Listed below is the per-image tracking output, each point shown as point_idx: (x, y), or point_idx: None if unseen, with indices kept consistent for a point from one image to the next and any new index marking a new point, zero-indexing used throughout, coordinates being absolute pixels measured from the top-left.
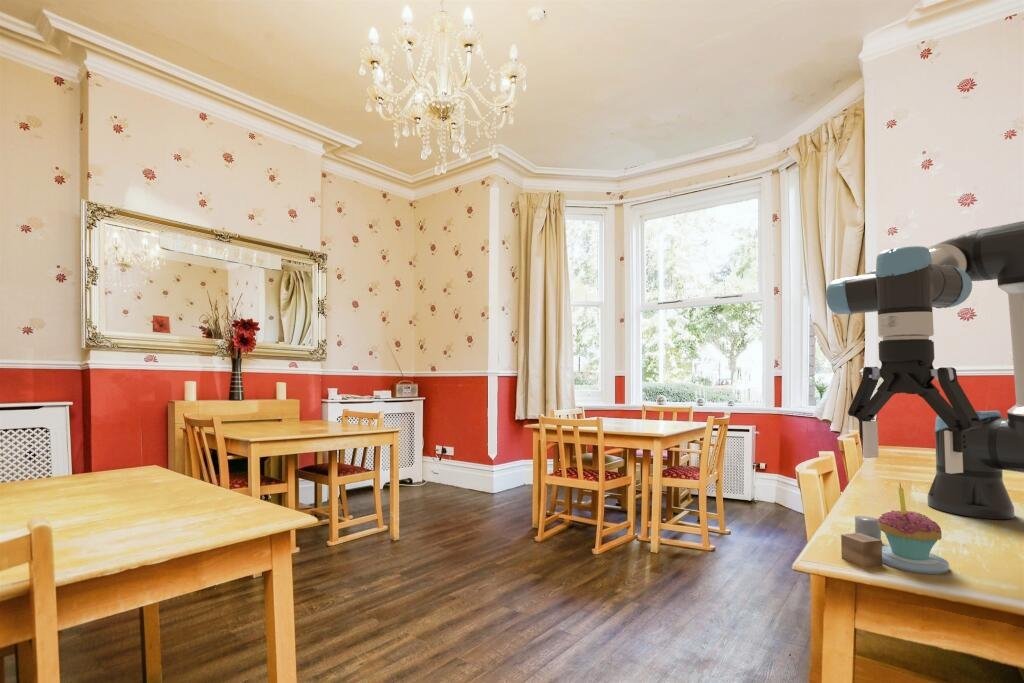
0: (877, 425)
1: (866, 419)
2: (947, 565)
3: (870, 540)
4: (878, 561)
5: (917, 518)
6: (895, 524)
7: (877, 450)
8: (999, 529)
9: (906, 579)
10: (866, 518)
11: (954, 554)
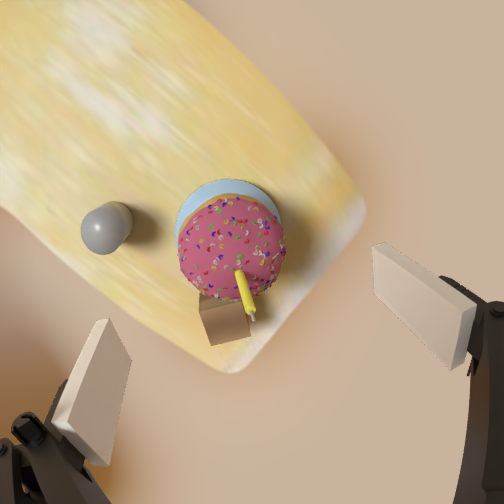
0: (74, 407)
1: (77, 458)
2: (272, 203)
3: (242, 320)
4: None
5: (266, 263)
6: (253, 295)
7: (105, 336)
8: None
9: (293, 288)
10: (98, 232)
11: (186, 111)
